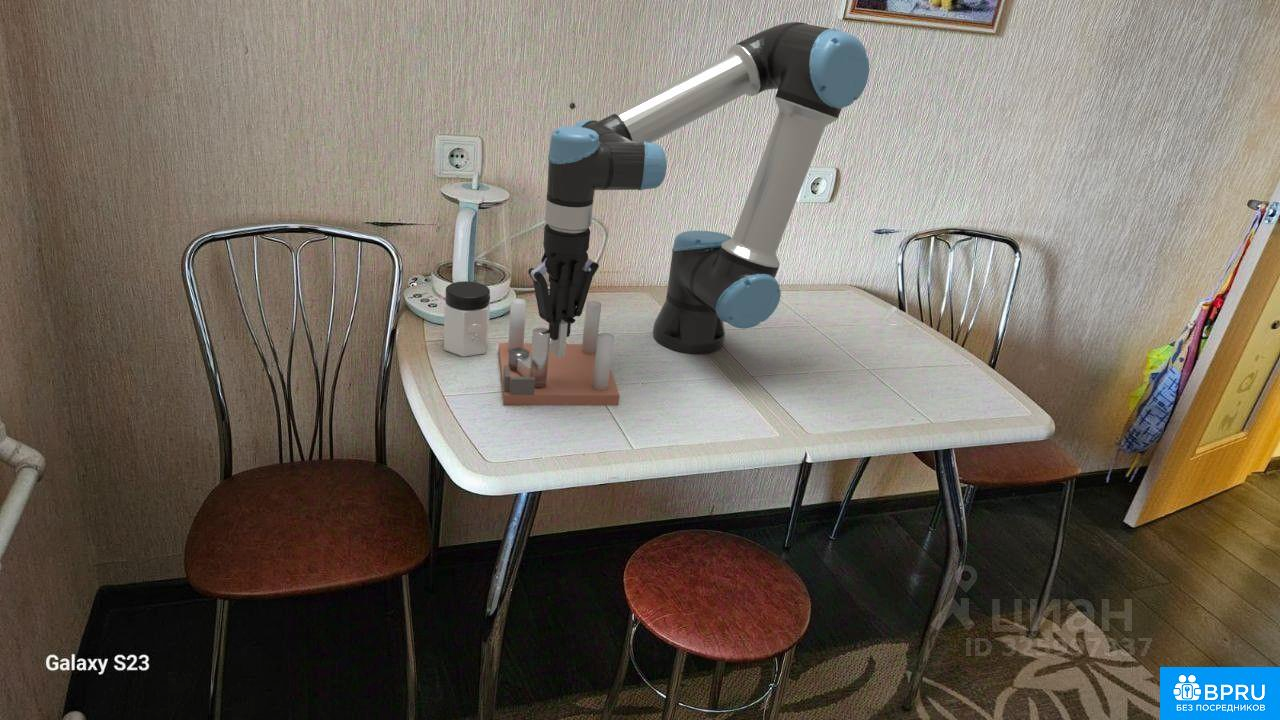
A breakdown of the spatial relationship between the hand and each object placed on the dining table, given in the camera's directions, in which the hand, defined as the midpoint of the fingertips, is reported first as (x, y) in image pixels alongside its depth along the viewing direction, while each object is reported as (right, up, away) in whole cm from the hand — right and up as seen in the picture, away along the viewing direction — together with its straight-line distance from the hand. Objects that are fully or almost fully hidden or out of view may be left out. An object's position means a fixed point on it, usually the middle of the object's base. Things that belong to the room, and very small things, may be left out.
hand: (557, 354), depth 143 cm
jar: (-19, +1, +14) cm, 23 cm away
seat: (-1, -4, +7) cm, 8 cm away
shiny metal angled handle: (-6, -4, +2) cm, 7 cm away
